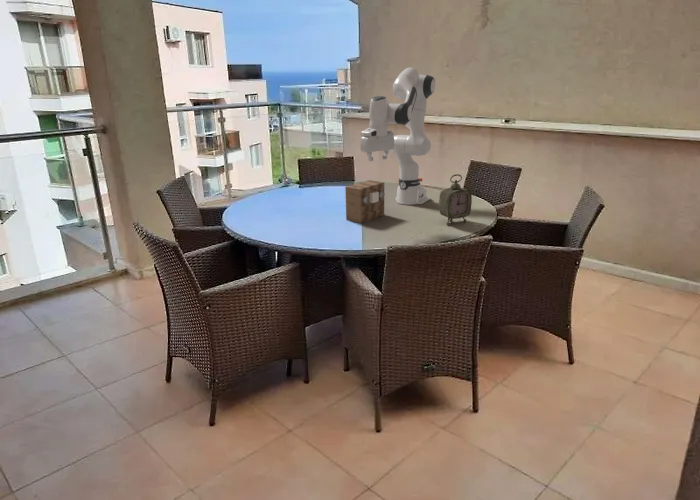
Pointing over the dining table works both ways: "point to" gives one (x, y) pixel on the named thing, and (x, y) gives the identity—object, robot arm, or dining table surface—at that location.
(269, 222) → the dining table surface
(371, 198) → the cream button
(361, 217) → the wooden block with knobs
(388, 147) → the robot arm
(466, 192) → the tabletop clock
